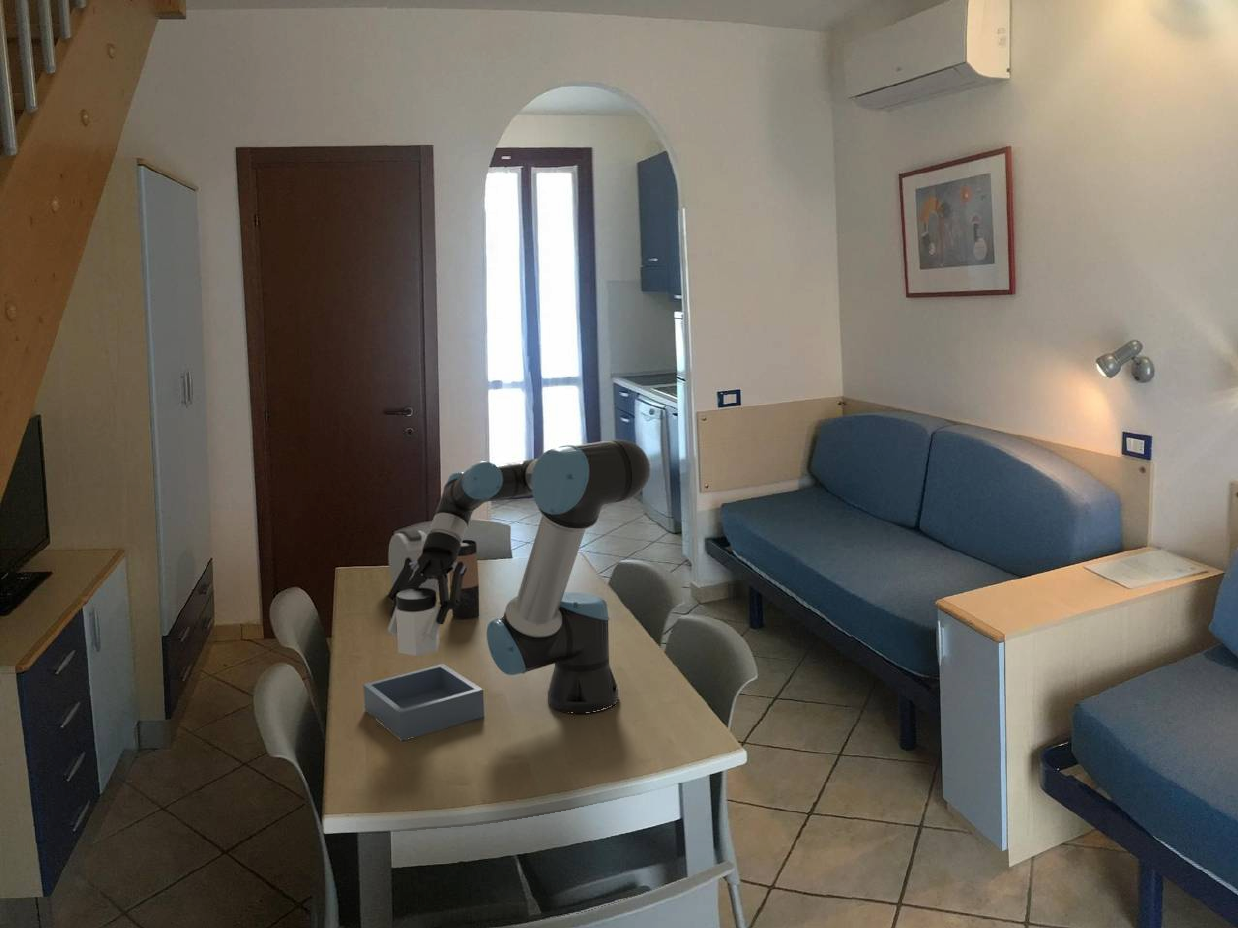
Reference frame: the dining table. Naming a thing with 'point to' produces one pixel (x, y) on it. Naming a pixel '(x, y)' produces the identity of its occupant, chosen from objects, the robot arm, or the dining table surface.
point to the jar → (415, 621)
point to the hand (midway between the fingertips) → (410, 635)
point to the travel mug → (468, 582)
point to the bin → (423, 701)
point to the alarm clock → (407, 554)
